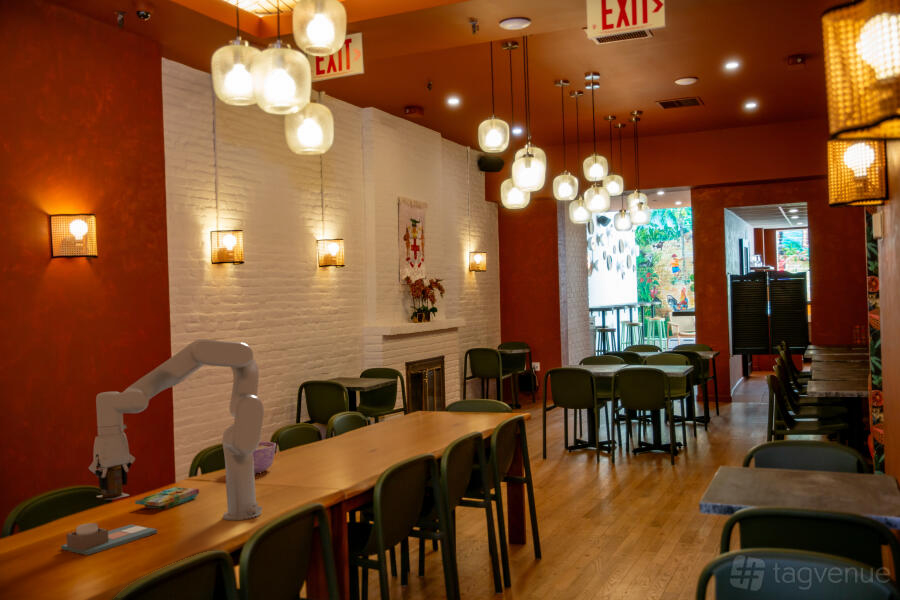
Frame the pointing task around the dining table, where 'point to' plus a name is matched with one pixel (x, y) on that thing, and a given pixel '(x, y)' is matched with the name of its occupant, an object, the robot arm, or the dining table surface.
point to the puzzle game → (168, 498)
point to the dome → (87, 529)
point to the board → (105, 539)
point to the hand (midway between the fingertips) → (113, 486)
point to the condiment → (113, 484)
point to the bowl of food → (263, 456)
